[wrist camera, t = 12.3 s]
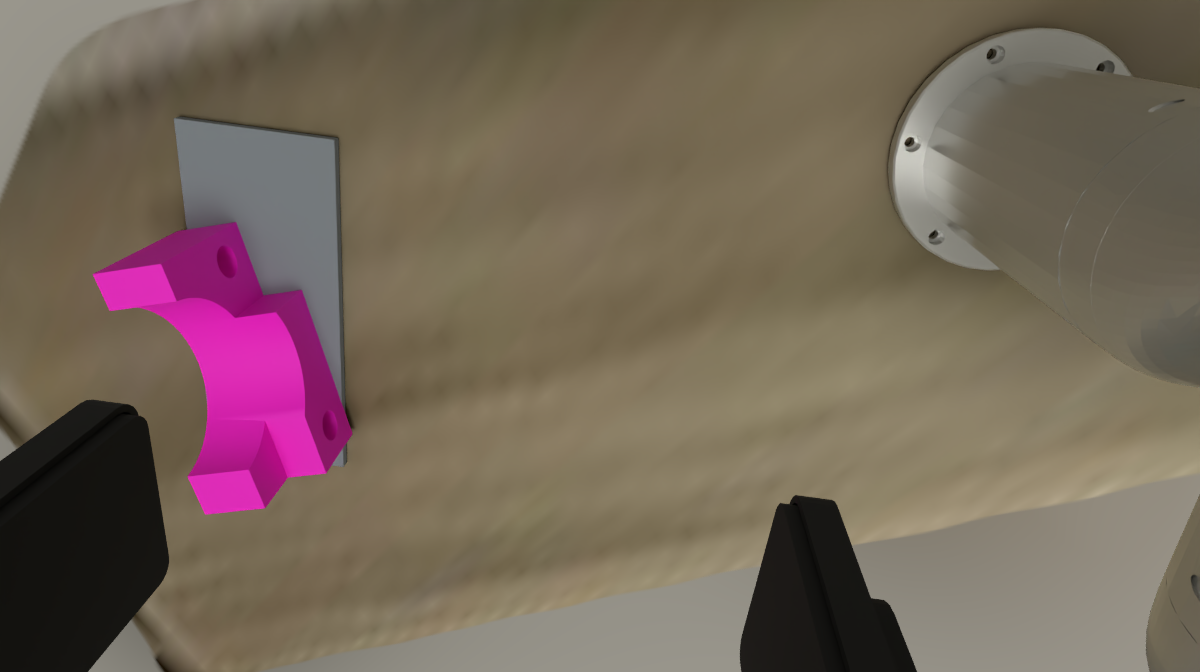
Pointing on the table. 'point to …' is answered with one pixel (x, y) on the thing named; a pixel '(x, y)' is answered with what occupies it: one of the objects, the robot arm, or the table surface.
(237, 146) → the mat
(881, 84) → the table surface
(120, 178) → the table surface
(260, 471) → the toy block
